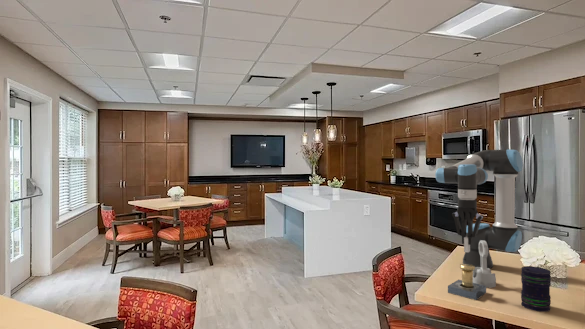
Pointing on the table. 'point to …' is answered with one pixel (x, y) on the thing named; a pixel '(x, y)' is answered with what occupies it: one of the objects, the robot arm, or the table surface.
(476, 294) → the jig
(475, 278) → the engine component
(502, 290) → the table surface
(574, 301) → the table surface
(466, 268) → the brass flared knob
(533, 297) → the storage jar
